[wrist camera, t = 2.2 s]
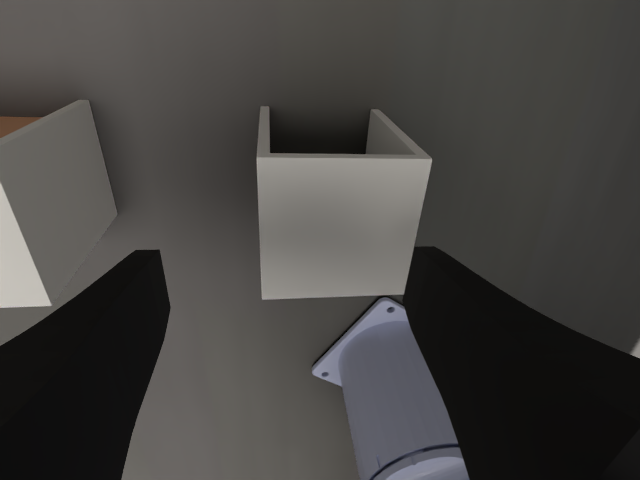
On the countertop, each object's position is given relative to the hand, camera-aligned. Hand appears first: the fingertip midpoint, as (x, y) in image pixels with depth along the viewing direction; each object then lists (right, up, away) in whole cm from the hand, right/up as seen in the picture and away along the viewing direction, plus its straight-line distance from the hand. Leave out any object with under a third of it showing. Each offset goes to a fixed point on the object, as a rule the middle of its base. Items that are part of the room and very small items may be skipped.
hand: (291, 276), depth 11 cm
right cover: (+1, +5, +8) cm, 10 cm away
